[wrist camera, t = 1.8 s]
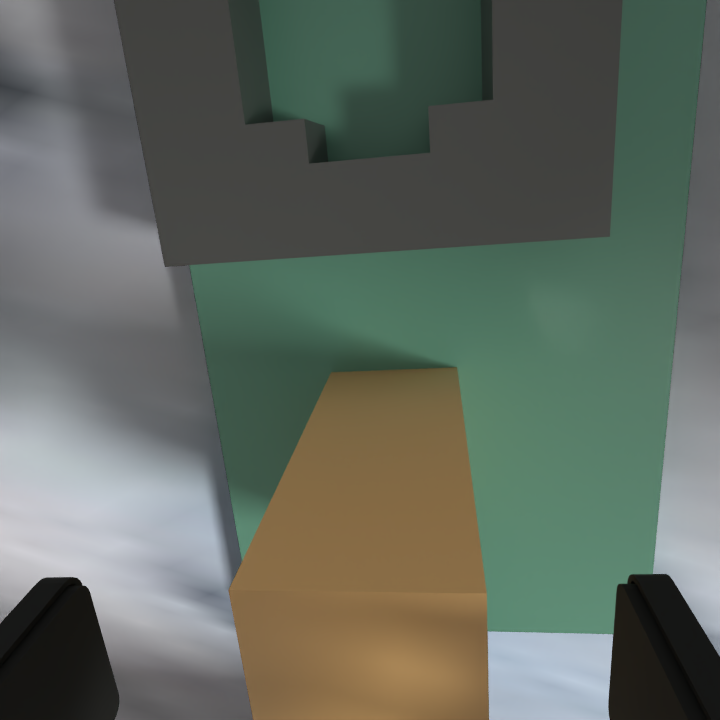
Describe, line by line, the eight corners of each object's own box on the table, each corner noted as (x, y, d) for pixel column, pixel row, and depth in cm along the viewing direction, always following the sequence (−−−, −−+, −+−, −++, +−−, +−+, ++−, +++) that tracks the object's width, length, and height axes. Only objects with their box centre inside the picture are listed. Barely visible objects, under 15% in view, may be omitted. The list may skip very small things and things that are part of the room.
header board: (724, -470, 11) (857, -756, 8) (634, 607, 19) (678, 704, 16) (105, -334, 13) (-14, -515, 9) (262, 601, 21) (229, 687, 18)
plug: (457, 367, 16) (487, 593, 8) (462, 536, 18) (491, 872, 9) (331, 372, 17) (228, 590, 8) (348, 536, 18) (278, 855, 10)
